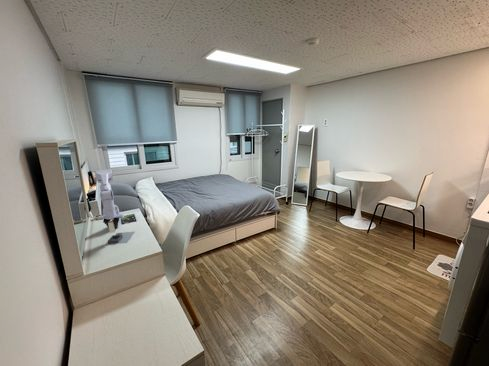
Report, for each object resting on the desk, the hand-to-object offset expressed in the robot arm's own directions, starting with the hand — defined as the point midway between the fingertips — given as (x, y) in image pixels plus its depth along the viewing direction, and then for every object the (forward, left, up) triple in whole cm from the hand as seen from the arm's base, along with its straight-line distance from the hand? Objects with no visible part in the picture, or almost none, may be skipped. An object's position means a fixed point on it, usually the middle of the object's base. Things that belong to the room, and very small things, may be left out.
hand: (113, 228), depth 135 cm
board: (-3, +2, -9) cm, 10 cm away
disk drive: (-33, -4, -10) cm, 35 cm away
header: (0, 0, -8) cm, 8 cm away
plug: (0, 0, -2) cm, 2 cm away
